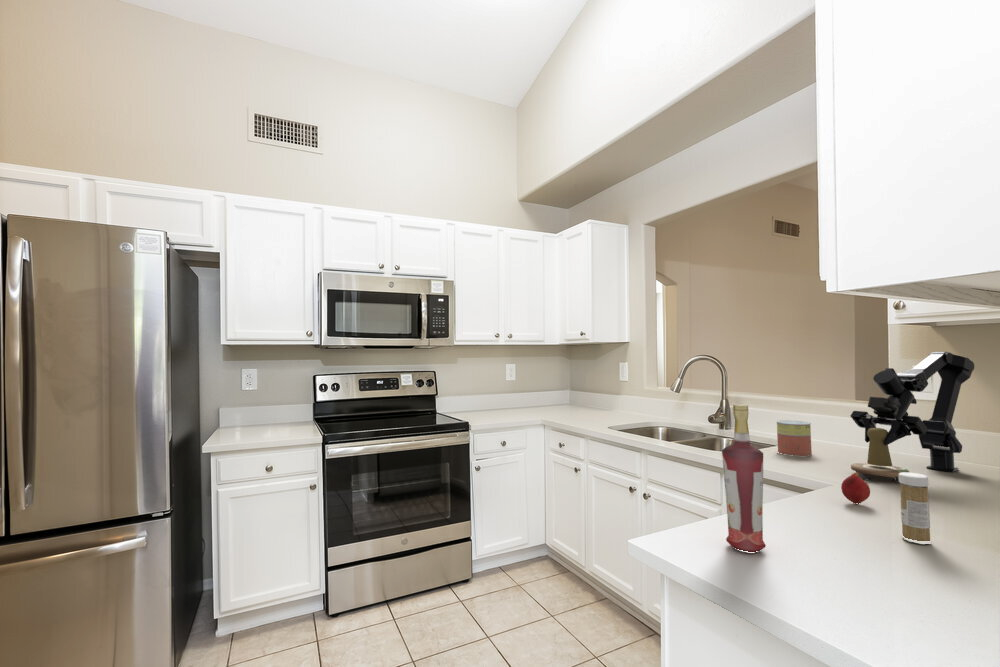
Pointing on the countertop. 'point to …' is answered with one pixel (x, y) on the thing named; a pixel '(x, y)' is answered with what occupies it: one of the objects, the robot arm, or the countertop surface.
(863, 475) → the brown shallow bowl
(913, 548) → the countertop surface
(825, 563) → the countertop surface
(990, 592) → the countertop surface
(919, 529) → the sprinkles bottle
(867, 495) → the onion
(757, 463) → the liquor
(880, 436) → the cork
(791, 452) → the canned food
